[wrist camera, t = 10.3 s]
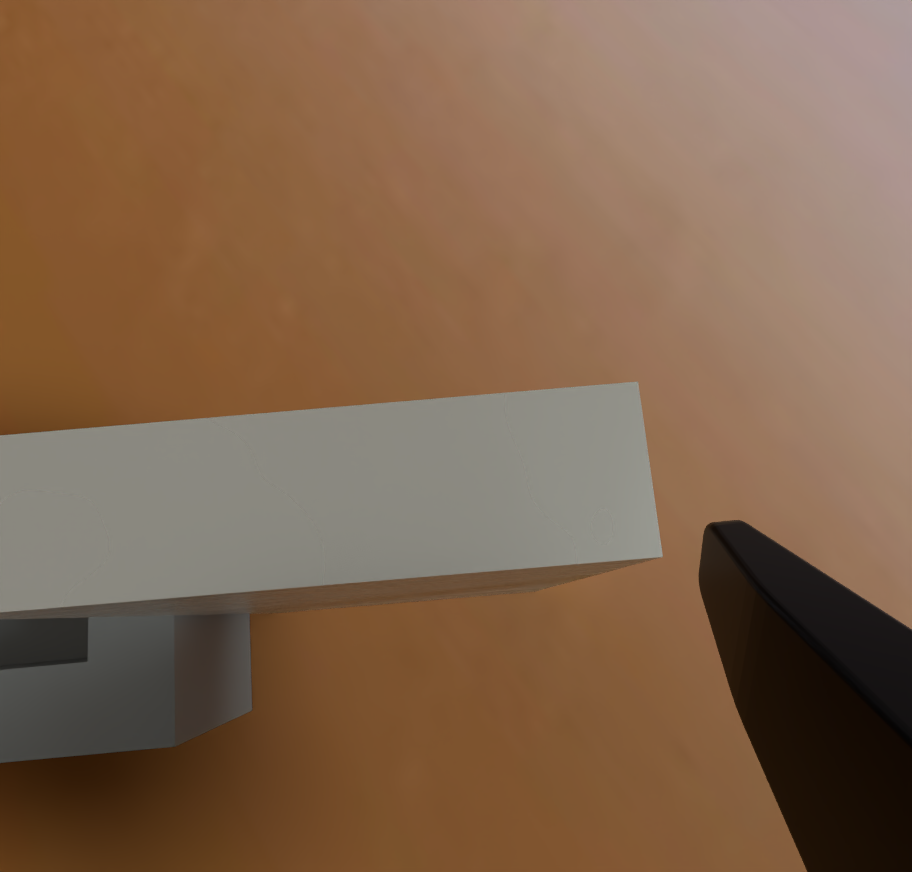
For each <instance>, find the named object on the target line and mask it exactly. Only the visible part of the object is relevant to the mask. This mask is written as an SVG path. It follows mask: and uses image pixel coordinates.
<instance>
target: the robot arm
mask: <svg viewBox="0 0 912 872" xmlns="http://www.w3.org/2000/svg"><path fill="white" fill-rule="evenodd" d="M699 586H700V591H701V595H702V599H703V602H704V605H705V608H706V612H707V615H708V618H709V622H710V625H711V628H712V631H713V635H714V638H715V641H716V644H717V648H718V651H719V654H720V658H721V661H722V664H723V667H724V671H725V674H726V677H727V681H728V684H729V687H730V690H731V693H732V696H733V699H734V702H735V705H736V708H737V710H738V713H739V715H740V718H741V720H742V723H743V725H744V728H745V730H746V732H747V734H748V737H749V739H750V741H751V744H752V746H753V748H754V750H755V753H756V755H757V757H758V760H759V762H760V764H761V767H762V769H763V771H764V773H765V776H766V778H767V780H768V783H769V785H770V787H771V789H772V792H773V794H774V796H775V799H776V801H777V803H778V805H779V808H780V810H781V812H782V815H783V817H784V819H785V821H786V824H787V826H788V828H789V831H790V833H791V835H792V838H793V840H794V842H795V844H796V847H797V849H798V851H799V854H800V856H801V858H802V860H803V863H804V865H805V867H806V870H807V872H912V629H910V628H909V627H907V626H906V625H904V624H902V623H901V622H899V621H898V620H896V619H895V618H893V617H892V616H890V615H888V614H887V613H885V612H884V611H882V610H881V609H879V608H878V607H876V606H875V605H873V604H871V603H870V602H868V601H867V600H865V599H864V598H862V597H861V596H859V595H857V594H856V593H854V592H853V591H851V590H850V589H848V588H847V587H845V586H843V585H842V584H840V583H839V582H837V581H836V580H834V579H833V578H831V577H829V576H828V575H826V574H825V573H823V572H822V571H820V570H819V569H817V568H816V567H814V566H812V565H811V564H809V563H808V562H806V561H805V560H803V559H802V558H800V557H798V556H797V555H795V554H794V553H792V552H791V551H789V550H788V549H786V548H784V547H783V546H781V545H780V544H778V543H777V542H775V541H774V540H772V539H770V538H769V537H767V536H766V535H764V534H763V533H761V532H760V531H758V530H757V529H755V528H753V527H752V526H750V525H749V524H747V523H745V522H743V521H740V520H732V521H721V522H712V523H710V524H708V525H707V526H706V528H705V530H704V535H703V543H702V551H701V559H700V568H699Z"/></svg>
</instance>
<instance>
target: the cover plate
mask: <svg viewBox="0 0 912 872" xmlns="http://www.w3.org/2000/svg"><path fill="white" fill-rule="evenodd" d="M661 557H663V555H662V548H661V541H660V534H659V527H658V520H657V513H656V506H655V499H654V492H653V485H652V478H651V471H650V464H649V457H648V450H647V442H646V435H645V428H644V421H643V414H642V407H641V400H640V393H639V386H638V382H628V383H616V384H604V385H592V386H580V387H569V388H557V389H545V390H533V391H521V392H509V393H498V394H486V395H474V396H462V397H450V398H438V399H427V400H415V401H403V402H391V403H379V404H367V405H356V406H344V407H332V408H320V409H308V410H296V411H285V412H273V413H261V414H249V415H237V416H225V417H214V418H202V419H190V420H178V421H166V422H154V423H143V424H131V425H119V426H107V427H95V428H83V429H72V430H60V431H48V432H36V433H24V434H12V435H0V620H2V619H44V618H86V617H128V616H170V615H212V614H255V613H283V612H295V611H307V610H319V609H331V608H343V607H355V606H367V605H379V604H391V603H403V602H415V601H427V600H439V599H451V598H463V597H475V596H487V595H499V594H511V593H523V592H535V591H539V590H543V589H546V588H550V587H554V586H557V585H561V584H565V583H568V582H572V581H576V580H579V579H583V578H587V577H591V576H594V575H598V574H602V573H605V572H609V571H613V570H616V569H620V568H624V567H627V566H631V565H635V564H639V563H642V562H646V561H650V560H653V559H657V558H661Z"/></svg>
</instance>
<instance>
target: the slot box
mask: <svg viewBox="0 0 912 872" xmlns="http://www.w3.org/2000/svg"><path fill="white" fill-rule="evenodd" d="M250 711H252V687H251V652H250V616H249V614H212V615H170V616H128V617H86V618H44V619H2V620H0V763H4V762H15V761H25V760H36V759H47V758H58V757H69V756H79V755H90V754H101V753H112V752H123V751H133V750H144V749H155V748H166V747H175V746H177V745H180V744H182V743H184V742H186V741H188V740H190V739H192V738H194V737H197V736H199V735H201V734H203V733H205V732H207V731H209V730H211V729H214V728H216V727H218V726H220V725H222V724H224V723H226V722H228V721H231V720H233V719H235V718H237V717H239V716H241V715H243V714H245V713H248V712H250Z"/></svg>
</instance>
